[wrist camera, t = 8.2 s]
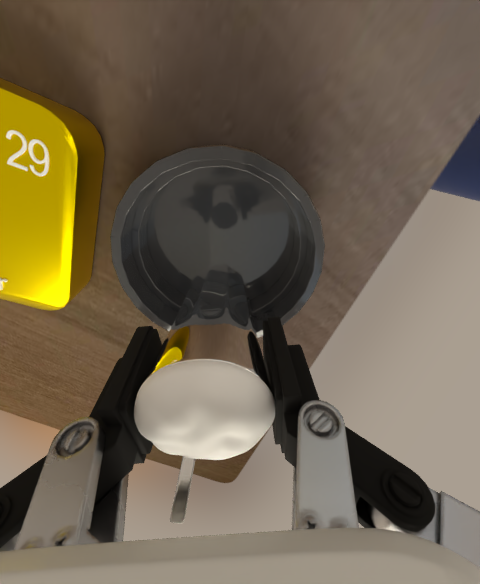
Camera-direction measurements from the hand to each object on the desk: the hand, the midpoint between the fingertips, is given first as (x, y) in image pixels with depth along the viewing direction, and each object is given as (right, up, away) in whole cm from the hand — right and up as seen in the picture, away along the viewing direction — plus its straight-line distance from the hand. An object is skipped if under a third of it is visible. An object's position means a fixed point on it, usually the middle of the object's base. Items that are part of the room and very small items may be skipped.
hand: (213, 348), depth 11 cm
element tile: (-18, +11, +9) cm, 23 cm away
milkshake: (0, +3, +4) cm, 5 cm away
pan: (0, +7, +11) cm, 13 cm away
